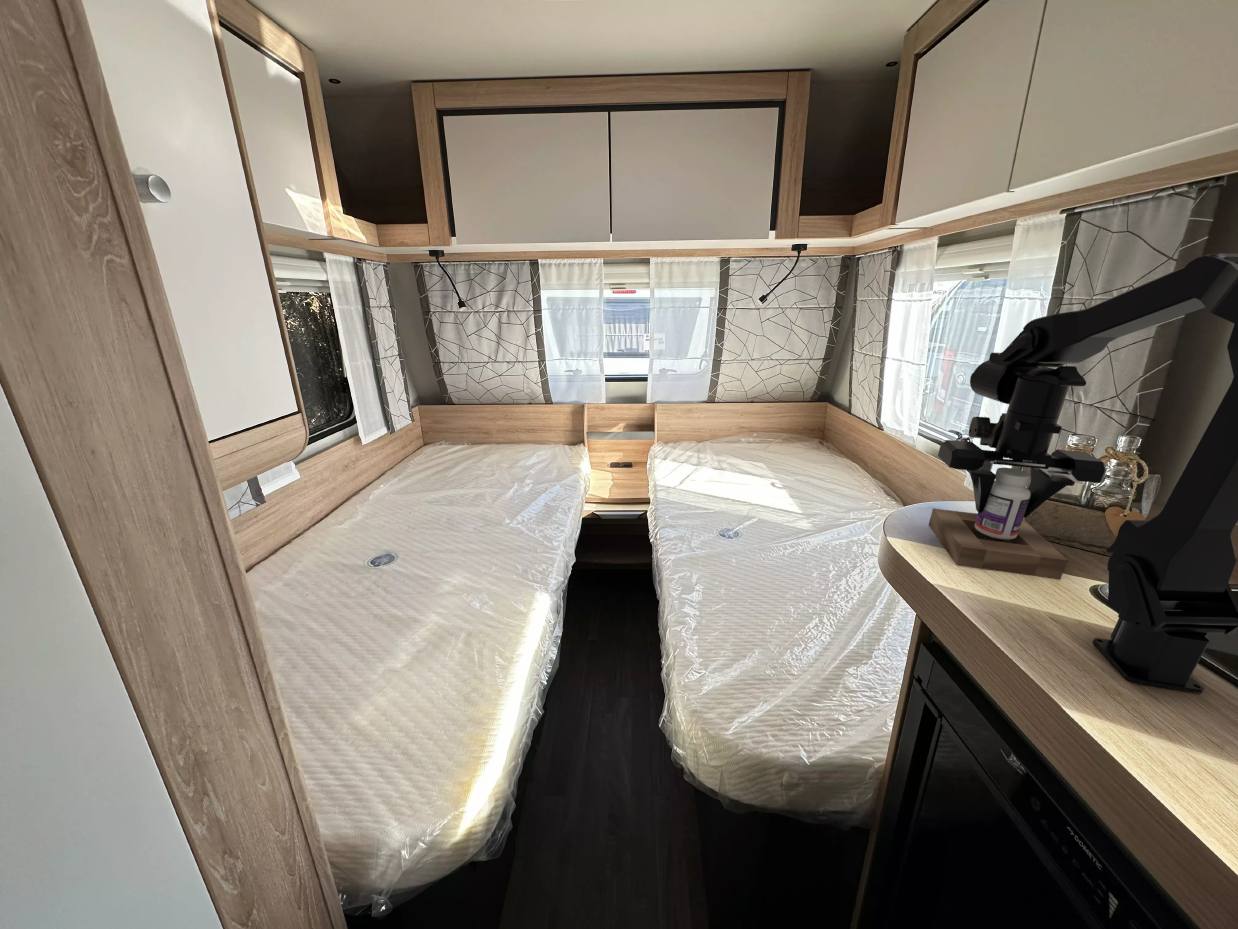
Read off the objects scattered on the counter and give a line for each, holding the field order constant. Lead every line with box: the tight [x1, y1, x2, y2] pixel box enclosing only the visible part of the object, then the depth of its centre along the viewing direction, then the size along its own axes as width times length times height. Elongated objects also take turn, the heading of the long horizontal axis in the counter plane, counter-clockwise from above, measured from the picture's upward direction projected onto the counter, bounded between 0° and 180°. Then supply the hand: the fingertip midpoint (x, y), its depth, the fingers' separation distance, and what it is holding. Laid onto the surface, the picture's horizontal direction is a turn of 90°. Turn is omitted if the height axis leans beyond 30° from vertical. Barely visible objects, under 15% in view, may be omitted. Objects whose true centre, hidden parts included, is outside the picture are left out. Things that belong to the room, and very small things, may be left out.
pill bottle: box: [975, 467, 1031, 539], centre depth 75 cm, size 5×5×10 cm
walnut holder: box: [928, 508, 1068, 580], centre depth 77 cm, size 13×13×3 cm
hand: (1000, 514), depth 76 cm, fingers closed on pill bottle, 5 cm apart
